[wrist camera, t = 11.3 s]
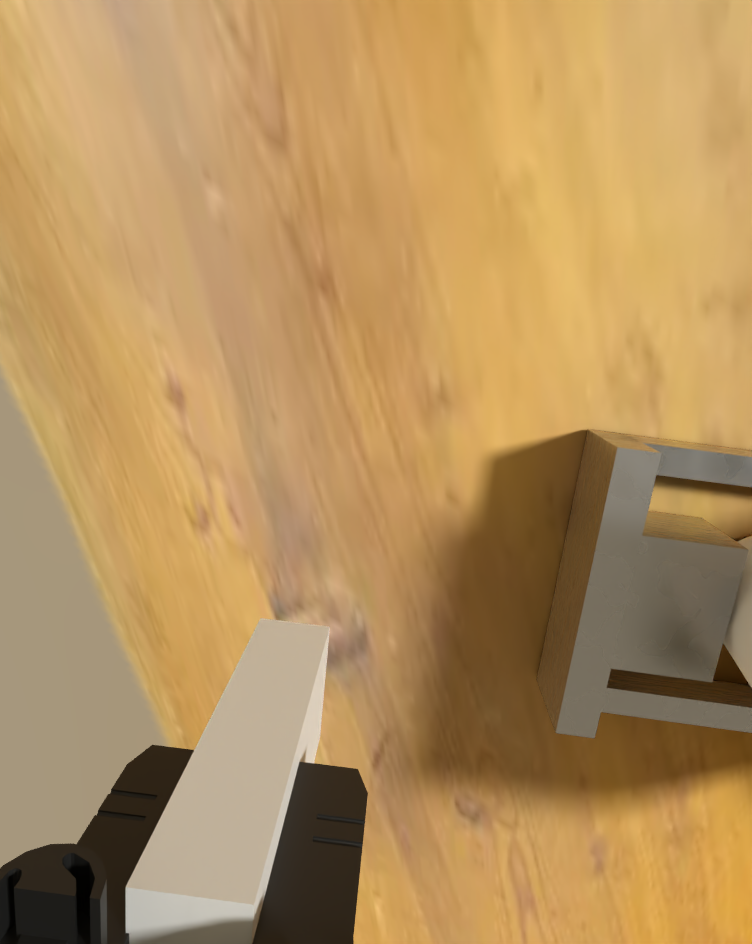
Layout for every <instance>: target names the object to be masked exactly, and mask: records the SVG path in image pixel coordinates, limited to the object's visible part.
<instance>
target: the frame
mask: <svg viewBox="0 0 752 944" xmlns="http://www.w3.org/2000/svg"><path fill="white" fill-rule="evenodd" d="M656 475H661V476H669V477H676V478H684V479H692V480H699V481H707V482H715V483H722V484H730V485H738V486H745V487H752V450H744V449H737V448H729V447H721V446H714V445H706V444H698V443H690V442H683V441H675V440H667V439H659V438H652V437H644V436H636V435H629V434H621V433H613V432H605V431H598V430H590V429H588V431H587V435H586V440H585V445H584V450H583V455H582V460H581V465H580V470H579V475H578V480H577V484H576V489H575V494H574V499H573V504H572V509H571V514H570V519H569V524H568V528H567V533H566V538H565V543H564V548H563V553H562V558H561V563H560V568H559V573H558V577H557V582H556V587H555V592H554V597H553V602H552V607H551V612H550V617H549V622H548V626H547V631H546V636H545V641H544V646H543V651H542V656H541V661H540V666H539V670H538V675H537V682H538V685H539V688H540V690H541V693H542V696H543V699H544V702H545V704H546V707H547V710H548V713H549V716H550V719H551V721H552V724H553V727H554V730H555V733H559V734H566V735H574V736H581V737H588V738H595V735H596V731H597V726H598V722H599V718H600V714H601V712H604V713H611V714H618V715H625V716H633V717H640V718H647V719H654V720H662V721H669V722H676V723H683V724H690V725H698V726H705V727H712V728H719V729H727V730H734V731H741V732H748V733H752V688H751V686H750V685H745V684H737V683H730V682H723V681H715V680H713V677H714V674H715V670H716V667H717V663H718V659H719V656H720V652H721V649H722V645H723V641H724V638H725V634H726V630H727V627H728V623H729V620H730V616H731V612H732V609H733V605H734V602H735V598H736V594H737V591H738V587H739V584H740V580H741V576H742V573H743V569H744V566H745V562H746V558H747V555H748V551H749V550H748V549H747V548H745V547H744V546H742V545H741V544H739V543H738V542H736V541H735V540H733V539H732V538H731V537H729V536H728V535H726V534H725V533H723V532H722V531H720V530H719V529H717V528H716V527H714V526H713V525H711V524H710V523H708V522H707V521H705V520H704V519H702V518H699V517H691V516H684V515H676V514H669V513H661V512H653V511H648V509H649V504H650V500H651V496H652V491H653V487H654V483H655V479H656Z"/></svg>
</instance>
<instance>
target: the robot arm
mask: <svg viewBox="0 0 752 944" xmlns="http://www.w3.org/2000/svg"><path fill="white" fill-rule="evenodd" d="M329 630H330V627H329V626H321V625H313V624H304V623H296V622H288V621H280V620H271V619H263V618H260V620H259V622H258V624H257V626H256V628H255V630H254V632H253V634H252V636H251V638H250V640H249V642H248V644H247V646H246V648H245V650H244V652H243V654H242V656H241V658H240V660H239V662H238V664H237V666H236V668H235V670H234V672H233V674H232V676H231V678H230V680H229V682H228V684H227V686H226V688H225V690H224V692H223V694H222V696H221V698H220V700H219V702H218V704H217V706H216V708H215V710H214V712H213V714H212V716H211V718H210V720H209V722H208V724H207V726H206V728H205V730H204V732H203V734H202V736H201V738H200V740H199V742H198V744H197V746H196V748H195V750H189V749H181V748H173V747H165V746H157V745H152V746H150V747H149V748H148V749H146V750H145V751H144V752H143V753H142V754H140V755H139V756H137V757H136V758H135V759H134V760H132V761H131V762H130V763H128V764H127V765H126V767H125V769H124V770H123V772H122V774H121V775H120V777H119V778H118V780H117V781H116V783H115V785H114V786H113V788H112V789H111V793H110V794H108V796H107V797H106V799H105V800H104V802H103V803H102V805H101V807H100V808H99V810H98V814H97V816H96V815H95V816H94V818H93V819H92V821H91V822H90V824H89V825H88V827H87V829H86V830H85V832H84V833H83V835H82V837H81V838H80V840H79V841H78V843H77V844H50V845H46V846H43V847H40V848H37V849H34V850H30V851H27V852H25V853H23V854H22V855H20V856H18V857H17V858H15V859H13V860H12V861H10V862H8V863H6V864H5V865H3V866H2V867H1V868H0V944H353V934H354V924H355V914H356V904H357V894H358V884H359V874H360V864H361V854H362V844H363V835H364V824H365V815H366V805H367V795H368V793H367V790H366V788H365V786H364V783H363V781H362V778H361V776H360V773H359V771H358V769H353V768H345V767H338V766H330V765H322V764H314V761H315V756H316V752H317V748H318V743H319V739H320V731H321V720H322V709H323V698H324V686H325V675H326V664H327V653H328V641H329Z"/></svg>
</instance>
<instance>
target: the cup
mask: <svg viewBox="0 0 752 944" xmlns="http://www.w3.org/2000/svg"><path fill="white" fill-rule="evenodd" d="M737 542H738V543H739V544H741V545H742V546H744V547H745V548H747V549H748V550H749V551H748V555H747V558H746V562H745V566H744V569H743V573H742V576H741V580H740V584H739V587H738V591H737V594H736V598H735V602H734V605H733V609H732V612H731V616H730V620H729V623H728V627H727V630H726V634H725V638H724V641H723V644H724V645H725V647H726V648H727V650H728V651H729V653H730V655H731V656H732V658H733V659H734V661H735V663H736V664H737V666H738V667H739V669H740V670H741V672H742V674H743V675H744V677H745V678H746V680H747V682H748V683H749V685H750V686H751V688H752V536H749V537H746V538H744V539H741V540H739V541H737Z"/></svg>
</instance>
